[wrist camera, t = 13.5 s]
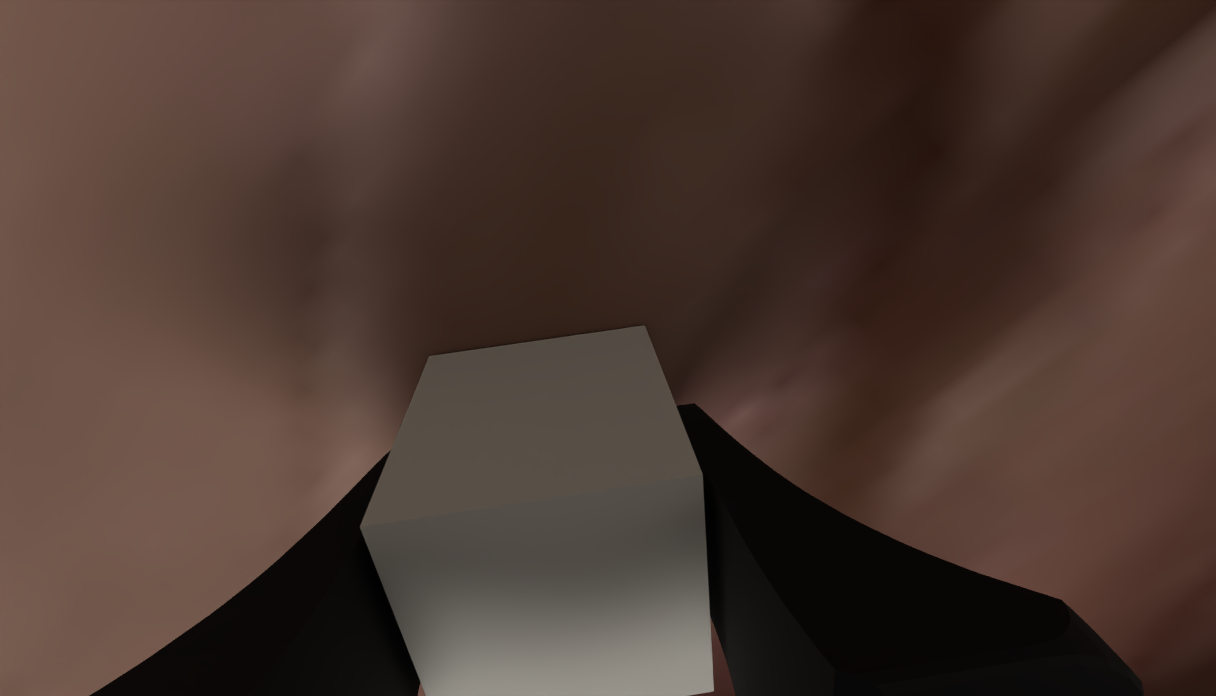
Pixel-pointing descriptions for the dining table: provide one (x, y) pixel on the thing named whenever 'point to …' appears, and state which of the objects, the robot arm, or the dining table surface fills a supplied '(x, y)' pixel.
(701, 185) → the dining table surface
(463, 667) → the plug
